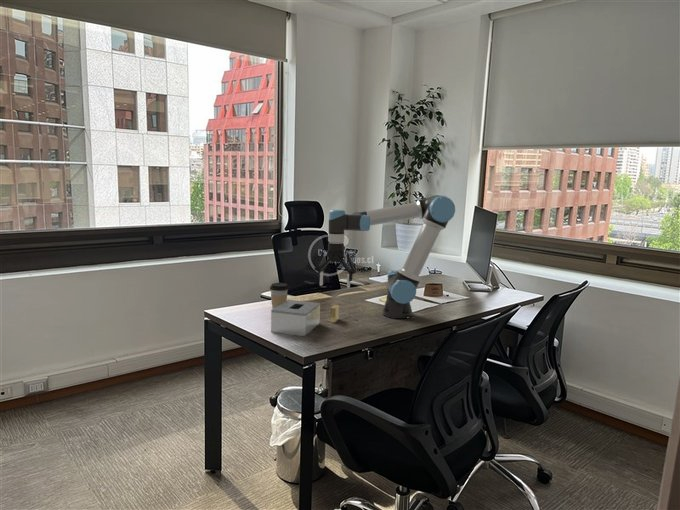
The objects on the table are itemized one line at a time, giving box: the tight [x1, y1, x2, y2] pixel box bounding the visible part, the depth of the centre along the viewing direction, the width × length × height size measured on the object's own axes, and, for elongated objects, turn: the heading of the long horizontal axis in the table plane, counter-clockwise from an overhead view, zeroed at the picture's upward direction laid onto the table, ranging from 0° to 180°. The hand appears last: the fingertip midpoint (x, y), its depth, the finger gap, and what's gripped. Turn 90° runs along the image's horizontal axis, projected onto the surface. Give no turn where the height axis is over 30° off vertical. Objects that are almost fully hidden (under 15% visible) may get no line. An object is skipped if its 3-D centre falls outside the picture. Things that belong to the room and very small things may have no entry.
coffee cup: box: [269, 282, 290, 310], centre depth 245 cm, size 9×9×15 cm
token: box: [329, 304, 340, 323], centre depth 238 cm, size 2×6×7 cm, turn 164°
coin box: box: [270, 299, 321, 337], centre depth 224 cm, size 16×20×10 cm
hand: (334, 286), depth 237 cm, fingers open, 13 cm apart
